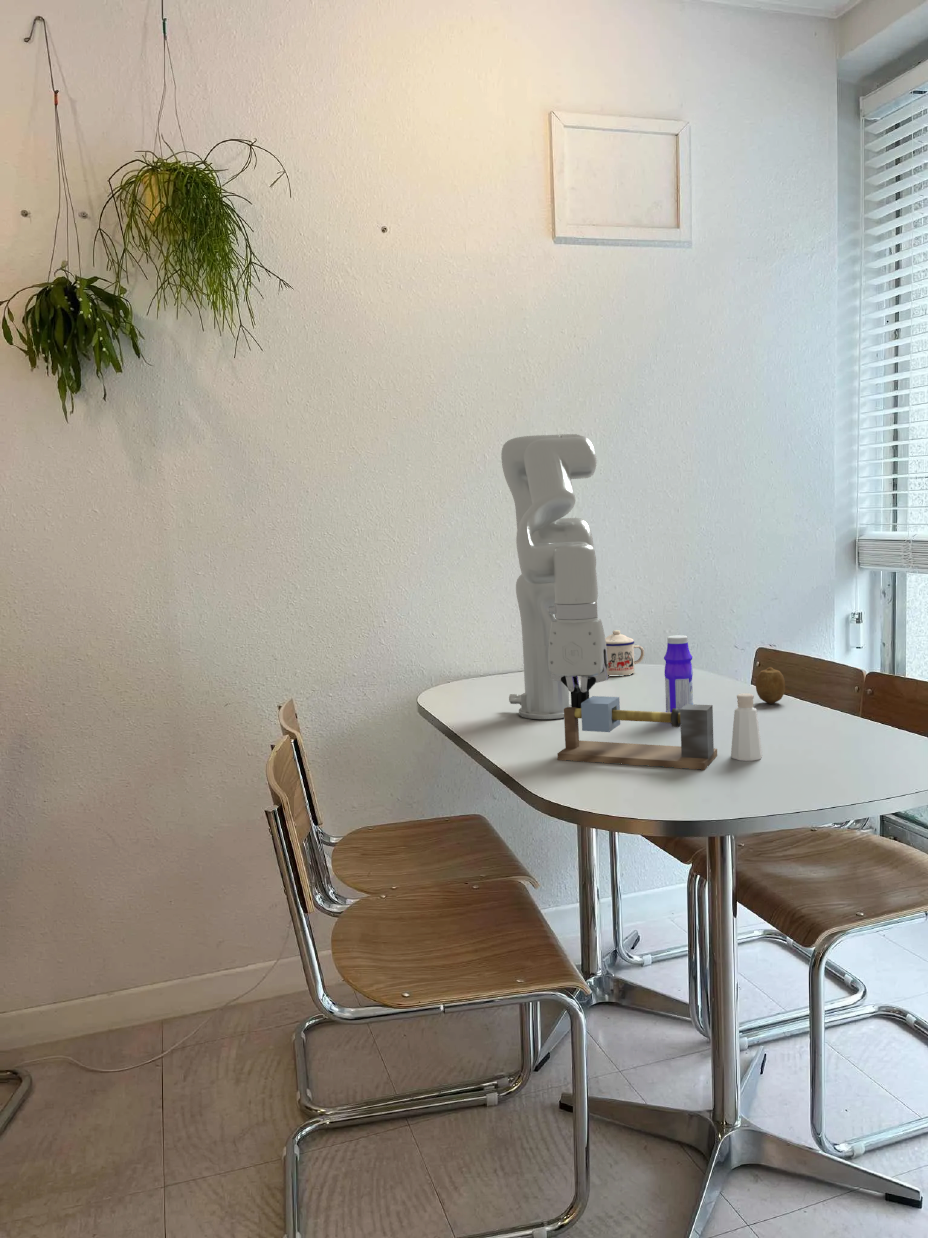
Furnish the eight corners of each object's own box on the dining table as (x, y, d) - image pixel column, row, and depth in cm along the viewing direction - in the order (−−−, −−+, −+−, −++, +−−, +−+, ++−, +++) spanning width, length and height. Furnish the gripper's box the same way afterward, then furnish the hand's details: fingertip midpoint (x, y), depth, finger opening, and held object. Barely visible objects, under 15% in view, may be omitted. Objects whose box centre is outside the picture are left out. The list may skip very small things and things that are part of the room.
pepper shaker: (727, 754, 171) (725, 692, 170) (758, 752, 171) (756, 690, 170) (734, 762, 166) (733, 698, 165) (766, 760, 166) (765, 696, 165)
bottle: (694, 724, 196) (692, 638, 194) (665, 724, 197) (663, 638, 195) (693, 716, 203) (691, 633, 201) (665, 716, 204) (663, 634, 202)
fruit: (782, 700, 214) (781, 664, 213) (788, 706, 208) (788, 668, 207) (753, 701, 215) (752, 665, 214) (758, 706, 209) (758, 670, 208)
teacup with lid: (607, 678, 253) (605, 633, 252) (596, 673, 262) (594, 630, 260) (651, 674, 255) (649, 630, 254) (638, 669, 264) (636, 626, 263)
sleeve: (582, 730, 173) (581, 703, 172) (593, 723, 178) (592, 696, 178) (609, 732, 170) (608, 704, 170) (620, 724, 176) (619, 697, 176)
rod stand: (557, 759, 174) (555, 707, 172) (576, 746, 182) (574, 696, 181) (704, 770, 162) (703, 713, 161) (717, 755, 171) (715, 702, 170)
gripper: (530, 615, 177) (535, 714, 179) (609, 614, 170) (613, 718, 172) (545, 610, 183) (550, 706, 185) (622, 610, 177) (626, 709, 178)
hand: (580, 712), depth 179 cm, fingers closed
